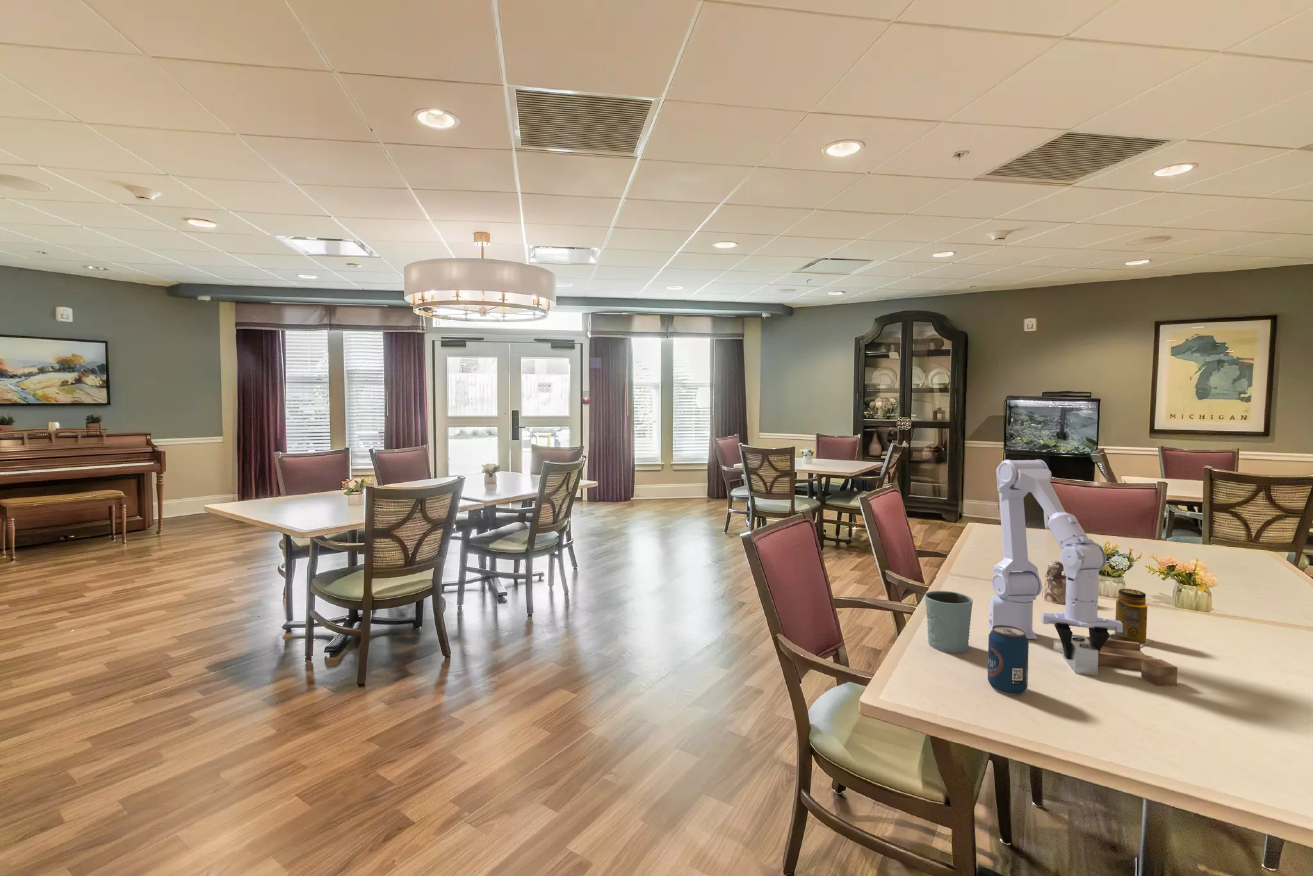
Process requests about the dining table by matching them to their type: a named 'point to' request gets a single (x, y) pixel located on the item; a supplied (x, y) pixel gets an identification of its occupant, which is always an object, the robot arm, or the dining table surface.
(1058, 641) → the plastic cap
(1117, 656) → the stand
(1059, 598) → the figurine
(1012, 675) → the soda can
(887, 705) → the dining table surface
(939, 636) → the green embossed planter
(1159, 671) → the walnut block
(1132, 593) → the condiment
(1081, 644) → the block
